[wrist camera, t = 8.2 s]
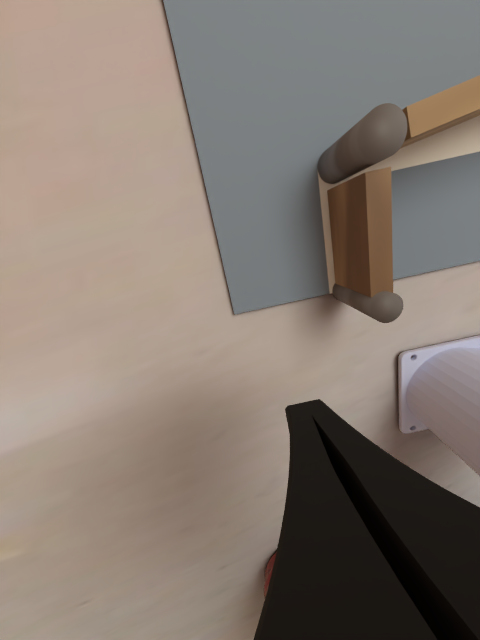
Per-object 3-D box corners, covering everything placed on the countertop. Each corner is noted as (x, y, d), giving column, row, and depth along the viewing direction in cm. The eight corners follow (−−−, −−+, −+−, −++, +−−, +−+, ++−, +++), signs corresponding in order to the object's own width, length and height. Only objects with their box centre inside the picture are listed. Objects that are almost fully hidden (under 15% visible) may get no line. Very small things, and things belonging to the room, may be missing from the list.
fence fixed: (348, 143, 15) (407, 98, 10) (357, 296, 18) (406, 318, 13) (315, 151, 15) (359, 109, 10) (330, 302, 18) (369, 326, 13)
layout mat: (595, -178, 12) (605, -189, 12) (530, 248, 18) (536, 248, 18) (146, -74, 12) (144, -82, 12) (234, 313, 18) (234, 314, 18)
